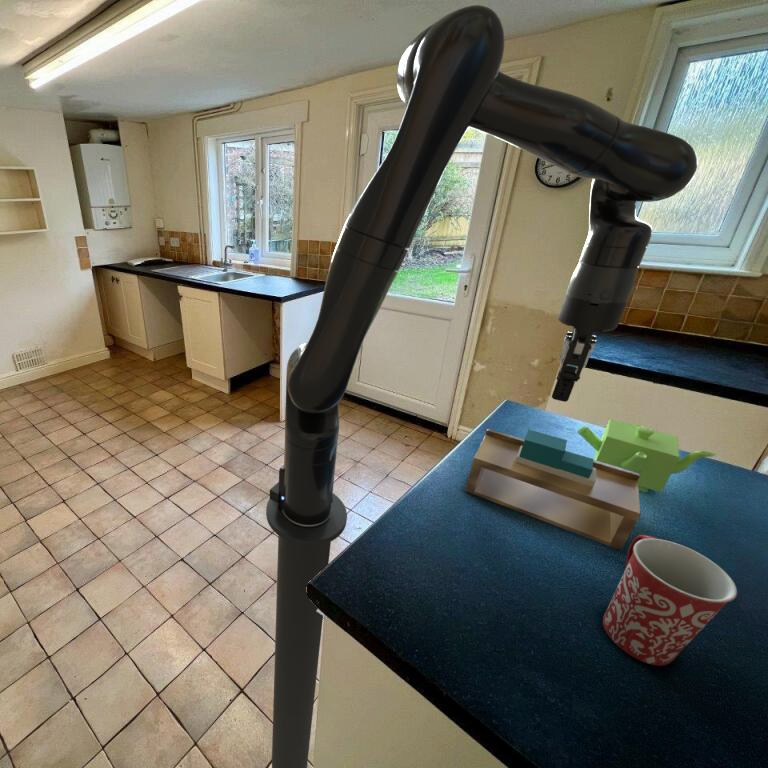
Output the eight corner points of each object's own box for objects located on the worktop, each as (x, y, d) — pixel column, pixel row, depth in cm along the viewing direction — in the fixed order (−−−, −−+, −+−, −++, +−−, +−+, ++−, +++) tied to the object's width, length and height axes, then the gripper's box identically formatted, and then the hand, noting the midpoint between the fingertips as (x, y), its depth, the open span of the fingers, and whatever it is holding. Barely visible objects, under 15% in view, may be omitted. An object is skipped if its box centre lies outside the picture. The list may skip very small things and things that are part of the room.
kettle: (693, 497, 79) (721, 449, 74) (626, 504, 78) (650, 455, 73) (622, 452, 93) (642, 408, 88) (564, 456, 91) (581, 412, 86)
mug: (698, 687, 49) (757, 613, 44) (606, 657, 53) (649, 584, 47) (655, 599, 60) (698, 530, 54) (580, 578, 63) (613, 511, 57)
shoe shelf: (464, 491, 81) (475, 453, 77) (477, 464, 89) (487, 428, 85) (621, 550, 68) (643, 508, 64) (620, 512, 76) (639, 473, 72)
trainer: (515, 462, 76) (522, 439, 74) (519, 450, 80) (526, 428, 77) (593, 487, 70) (603, 463, 68) (593, 473, 73) (604, 450, 71)
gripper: (569, 283, 70) (540, 371, 77) (563, 299, 59) (529, 399, 66) (627, 289, 65) (590, 381, 73) (630, 308, 55) (587, 414, 62)
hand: (561, 390), depth 70 cm, fingers open, 8 cm apart
